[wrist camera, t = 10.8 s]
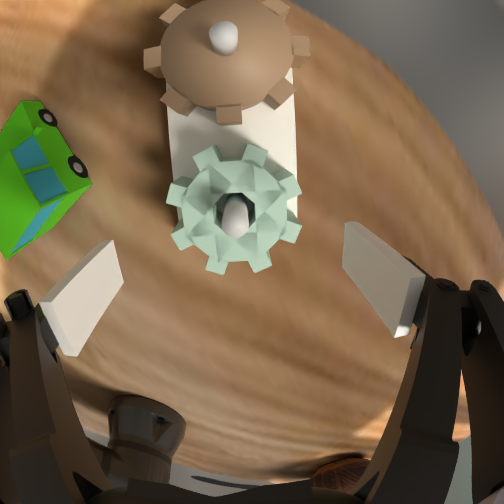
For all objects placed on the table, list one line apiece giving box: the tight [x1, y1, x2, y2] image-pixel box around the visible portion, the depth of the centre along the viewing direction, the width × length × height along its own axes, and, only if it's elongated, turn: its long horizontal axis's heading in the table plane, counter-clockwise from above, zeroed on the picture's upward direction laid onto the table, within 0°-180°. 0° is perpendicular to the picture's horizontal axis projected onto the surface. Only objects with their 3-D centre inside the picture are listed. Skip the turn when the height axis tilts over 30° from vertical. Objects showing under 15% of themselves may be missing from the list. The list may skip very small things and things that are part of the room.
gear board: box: [144, 0, 311, 238], centre depth 19 cm, size 12×23×9 cm, turn 3°
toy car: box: [0, 100, 92, 260], centre depth 18 cm, size 10×13×10 cm
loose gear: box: [166, 143, 302, 275], centre depth 22 cm, size 10×10×4 cm
